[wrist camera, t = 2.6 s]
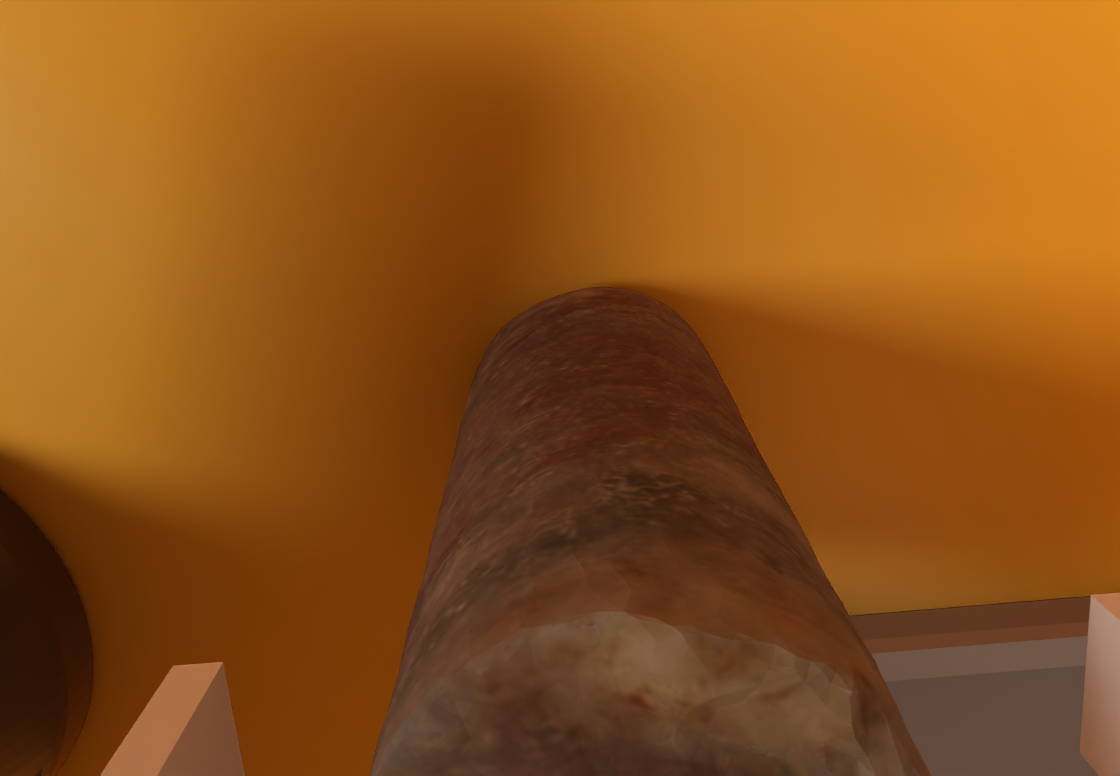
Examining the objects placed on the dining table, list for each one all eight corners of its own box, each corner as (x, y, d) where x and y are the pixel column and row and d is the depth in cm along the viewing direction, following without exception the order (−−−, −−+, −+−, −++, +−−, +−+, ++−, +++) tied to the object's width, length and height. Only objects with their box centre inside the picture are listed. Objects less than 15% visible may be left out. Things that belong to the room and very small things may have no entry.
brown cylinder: (505, 541, 32) (455, 1221, 12) (430, 323, 30) (234, 732, 10) (739, 474, 31) (1063, 1074, 12) (680, 249, 29) (952, 534, 10)
